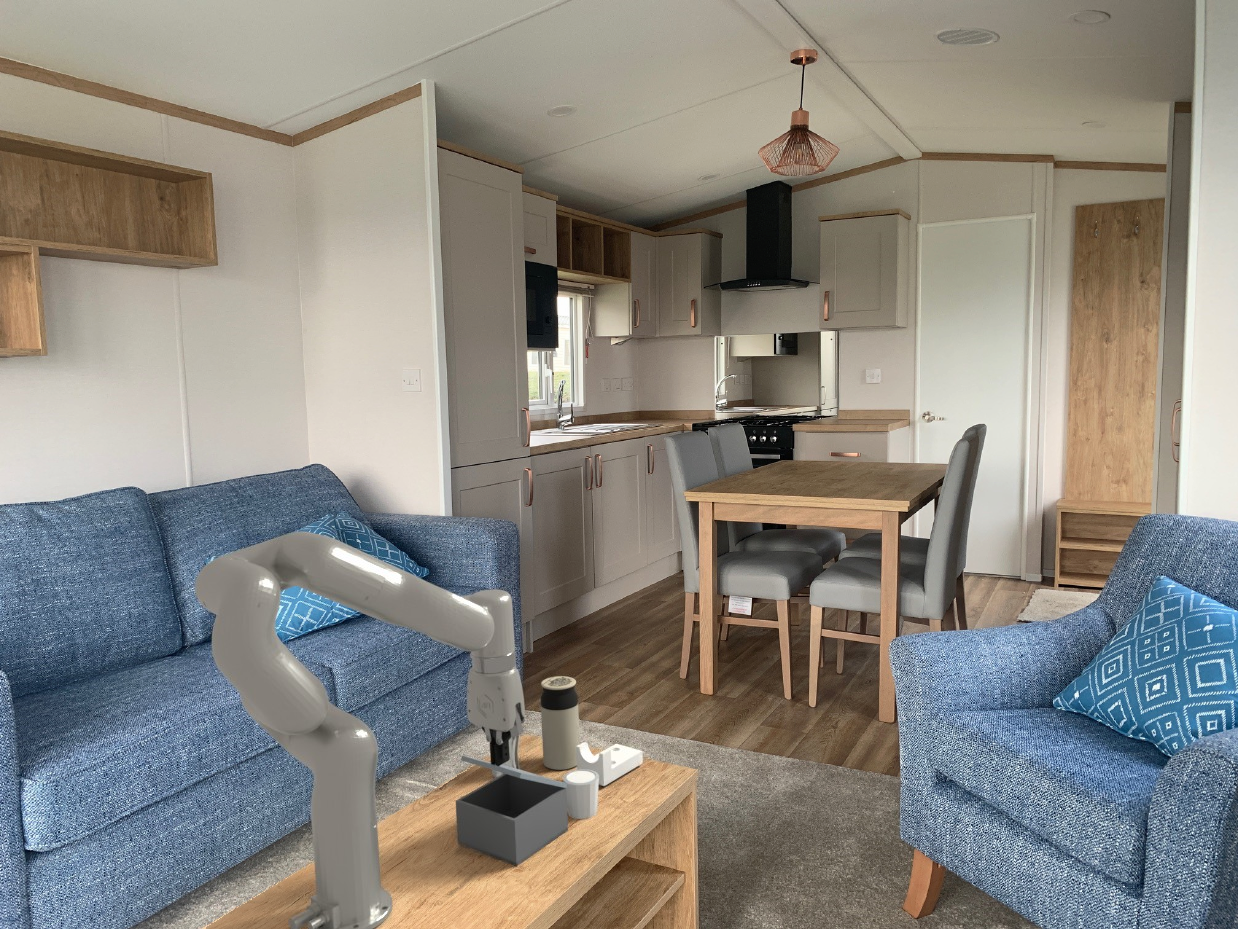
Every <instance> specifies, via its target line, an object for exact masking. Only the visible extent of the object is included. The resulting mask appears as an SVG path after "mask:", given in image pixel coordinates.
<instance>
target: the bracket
mask: <svg viewBox="0 0 1238 929" xmlns="http://www.w3.org/2000/svg"><path fill="white" fill-rule="evenodd" d="M576 757H577V765H576V770H578V769H587V770H593V771H595V772H597V773H598V775H599V785H598V786H603V787H605V786H607V785H608V784H610V783H612V782H613V781H615V780H618V778H620V777H623V775H625V774H627V773H629V772H630V771H632V770H634V769H635V768H637V767H638V766H640V765H642V764H643V763H644V762H643V760H644V759H643V750H639V749H636V748H633V747H630V746H625V745H622V744H618V743H615V744H613V745H611V746H609V747H607V748H606V749H604V750H602V751H600V752H599V753H596V754H595V755H594V754H593V753H592V752H591V750H590V748H589V744H588V742H585V741H584V742H580V745H578V746H576Z"/></svg>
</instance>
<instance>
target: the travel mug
mask: <svg viewBox="0 0 1238 929" xmlns="http://www.w3.org/2000/svg"><path fill="white" fill-rule="evenodd" d="M576 684H577V680H576V679H575V678H573V677H572V676H571V677H570V676H564V675H563V676H562V675H559V676H551V677H547V678H546V679H543V680H542V681H541V684H540V685H541V687H542V691H543V692H542V693H541V696H540V715H541V716H540V718H541V735H542V736H541V738H542V740H541V741H542V758H543V760H542V762H543V765H544V766H545V767H546V768H547V769H551V770H554V771H555V770H556V771H557V770H558V771H565V770H570V769H573V768H574V767H577V757H576V746H578V745H580V744H581V741H580V740H581V739H580V717H579V716H580V715H579V696H578V693H577V691H576V690H575V686H576Z"/></svg>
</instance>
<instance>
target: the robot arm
mask: <svg viewBox="0 0 1238 929" xmlns="http://www.w3.org/2000/svg"><path fill="white" fill-rule="evenodd" d="M293 587H298V588H301V589H303V590H305V591H307V592H310V593H312V594H315V595H318V596H320V597H321V598H325V599H327V600H330V601H332V602H334V603H337V604H339V605H342V606H345V607H347V608H350V609H352V610H353V611H356V612H359V613H361V614H364V615H366V616H368V617H371V618H373V619H375V620H376V619H377V620H379V621H381V622H384V623H387V624H389V625H390V624H391V625H394V626H398V627H402V628H407V629H409V630H413V631H415V632H418V633H420V634H424V635H426V636H428V637H429V638H430V639H432V640H434V641H436V642H439V643H442V644H445V645H447V646H451V647H453V648H456V649H458V650H459V649H460V650H462V651H464V652H469V653H470V654H469V658H470V659H471V663H472V664H471V666H472V667H470V668H469V672H468V677H467V678H468V679H467V688H466V690H467V691H466V692H467V693H466V708H467V711H466V712H467V719H468V721H469V722H470V723H471V724H472V725H474V726H476V727H477V728H479V729H480V730H482V731H483V733H484V735H485V739H486V742H488V743H489V753H490V755H489V756H490V762H491V764H493V765H496V766H500V765H502V764H504V763H505V762H507V761H509V759H510V753H509V740H510V739H511V738H512V737H513V736H519V735H520V736H521V735H522V734H524V728H523V725H522V724H524V722H525V721H526V720H525V718H526V710H525V709H526V708H525V706H526V705H525V698H524V690H523V685H522V681H521V677H520V673H519V672H520V671H519V669H518V668H517V663H516V660H517V658H516V647H515V629H514V613H513V611H514V610H513V599H512V595H511V594H510V593H509V592H508V591H507V590H504V589H503V590H502V589H485V590H479V591H477V592H474V593H473V594H467V595H458V594H455V593H454V592H451V591H449V590H447V589H445V588H442V587H440V586H438V585H435V584H433V583H431V582H428V580H424V579H422V578H420V577H419V576H417V575H414V574H413V573H411V572H408V571H406V570H404V569H401V568H399V567H397V566H395V565H393V564H390V563H388V562H385V561H384V560H381V559H379V558H378V557H375V556H373V555H370V554H368V553H367V552H364V551H362V550H360V549H358V548H355V547H353V546H351V545H349V544H348V543H345V542H342V541H340V540H338V539H336V538H334V537H331V536H327V535H323V534H318V533H314V532H310V531H302V530H301V531H294V532H290V533H285V534H282V535H280V536H277V537H274V538H272V539H269V540H268V539H267V540H265V541H262V542H260V543H256V544H253V545H251V546H248V547H244V548H241V549H238V550H234V551H231V552H228V553H226V554H223V555H221V556H219V557H216V558H214V559H213V560H211V561H209V562H208V563H207V564H205V565H204V567H203V568H202V569H200V572H199V573H198V575H197V577H196V579H195V583H194V591H195V596H196V598H197V600H198V602H199V603H200V606H202V607H203V608H205V610H207V611H208V612H210V613H212V614H214V615H215V619H214V622H213V627H212V634H211V650H212V651H211V652H212V656H213V661H214V662H215V665H216V667H217V668H218V670H219V671H220V673H221V674H222V675H223V676H224V677H225V679H226V680H227V681H228V682H229V683H231V685H232V686H233V688H235V689H236V691H238V693H239V694H240V701H241V704H242V706H243V708H244V710H245V712H246V713H247V714H248V715H249V717H251V718H252V719H253V720H254V721H255V722H256V723H257V725H259V726H260V727H261V728H262V730H264V731H265V732H266V733H268V734H269V736H270V737H271V738H272V739H274V741H275V742H277V743H278V744H279V745H280V746H281V747H282V748H283V749H284V750H285V751H286V752H287V753H289V754H290V755H291V756H292V757H293V758H295V760H297V761H299V762H300V763H302V765H304V766H305V767H307V768H308V769H309V770H310V771H312V773H313V778H314V782H313V789H312V793H311V800H310V818H311V819H310V820H311V828H312V844H313V846H312V847H313V859H314V874H315V875H314V876H315V888H316V889H315V890H316V893H315V894H313V895H311V896H310V899H309V900H310V904H309V905H308V906H306V908H305V910H304V911H302V912H300V913H298V914H296V915H295V916H293V917H291V918H290V919H288V927H289V928H290V929H302V928H303V927H305V926H307V929H375V928H377V927H378V926H380V925H381V924H382V923H383V922H384V921H385V920H386V919H387V918H388V917H389V916H390V914H391V912H392V910H393V896H392V895H391V893H390V892H389V891H388V890H387V889H385V888H383V887H382V879H381V865H380V849H379V848H380V847H379V846H380V845H379V829H378V814H377V812H378V811H377V801H376V777H377V776H376V775H377V768H378V761H379V760H378V759H379V758H378V757H379V746H378V741H377V738H376V735H375V734H374V732H373V730H372V729H371V728H370V727H369V725H367V724H366V723H365V722H364V721H362V719H360V718H358V717H356V716H354V715H353V714H350V713H348V712H346V710H345V711H344V710H342V709H341V708H339V707H338V706H336V705H334V704H332V702H330V701H329V696H328V691H327V690H326V688H325V686H324V684H323V683H322V682H321V680H320V679H319V678H318V677H317V676H316V675H315V674H314V673H312V671H310V670H309V668H307V667H306V666H305V665H304V664H303V663H302V662H301V661H300V660H299V659H298V658H297V657H296V656H295V655H294V654H293V653H292V652H291V651H290V650H289V648H287V646H286V645H285V644H284V642H282V641H281V639H280V637H278V633H277V631H276V620H277V617H278V613H279V610H280V605H281V600H282V599H281V597H282V592H283V591H286V590H289V589H290V588H293Z"/></svg>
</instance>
